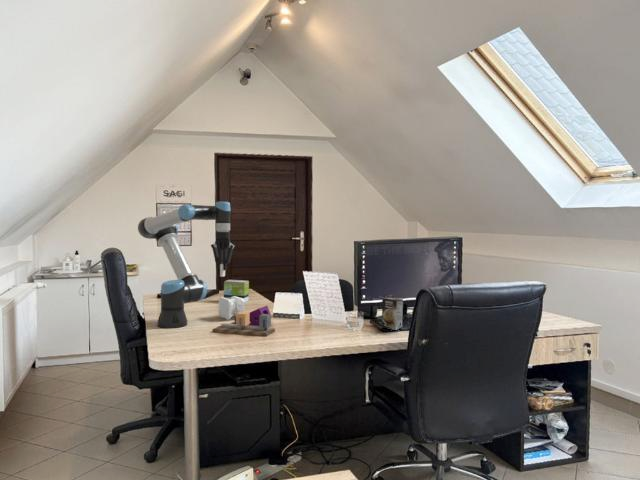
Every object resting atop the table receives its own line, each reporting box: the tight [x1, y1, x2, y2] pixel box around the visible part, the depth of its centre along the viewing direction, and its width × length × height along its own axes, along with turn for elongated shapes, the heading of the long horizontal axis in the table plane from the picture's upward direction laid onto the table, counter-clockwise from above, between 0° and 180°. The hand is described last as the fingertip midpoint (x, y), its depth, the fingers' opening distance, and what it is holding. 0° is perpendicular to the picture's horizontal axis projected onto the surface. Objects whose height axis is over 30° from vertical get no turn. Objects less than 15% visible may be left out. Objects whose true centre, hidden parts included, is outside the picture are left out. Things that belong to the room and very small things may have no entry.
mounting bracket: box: [233, 305, 271, 326], centre depth 262 cm, size 10×9×19 cm
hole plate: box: [211, 325, 276, 337], centre depth 243 cm, size 29×11×2 cm, turn 74°
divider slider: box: [235, 311, 251, 329], centre depth 243 cm, size 5×6×7 cm
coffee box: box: [381, 296, 404, 330], centre depth 253 cm, size 9×6×16 cm
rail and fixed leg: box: [220, 313, 272, 331], centre depth 243 cm, size 26×6×8 cm, turn 74°
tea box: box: [223, 279, 250, 303], centre depth 334 cm, size 15×10×15 cm
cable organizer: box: [218, 296, 246, 321], centre depth 278 cm, size 15×11×12 cm
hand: (222, 276), depth 254 cm, fingers closed
